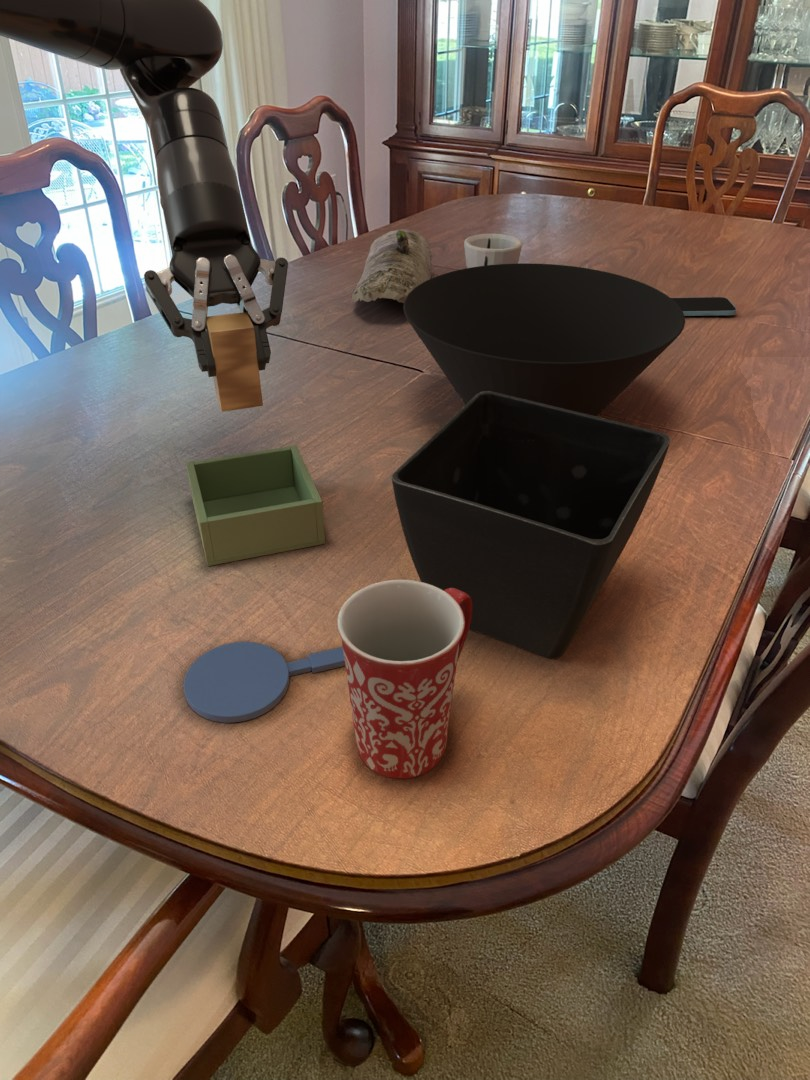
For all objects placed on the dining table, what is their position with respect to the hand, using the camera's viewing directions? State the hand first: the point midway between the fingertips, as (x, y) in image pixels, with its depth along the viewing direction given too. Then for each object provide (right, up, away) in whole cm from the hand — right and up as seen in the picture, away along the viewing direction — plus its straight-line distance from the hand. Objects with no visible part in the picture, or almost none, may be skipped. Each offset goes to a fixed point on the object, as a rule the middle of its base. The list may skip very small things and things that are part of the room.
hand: (237, 369), depth 76 cm
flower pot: (+27, -22, +4) cm, 35 cm away
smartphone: (+66, +25, +69) cm, 99 cm away
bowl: (+33, +2, +37) cm, 50 cm away
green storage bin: (-1, -14, +15) cm, 21 cm away
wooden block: (-1, -2, +4) cm, 4 cm away
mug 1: (+17, -32, -9) cm, 37 cm away
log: (+14, +29, +75) cm, 81 cm away
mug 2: (+31, +30, +77) cm, 89 cm away
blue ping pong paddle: (+5, -28, -4) cm, 28 cm away
